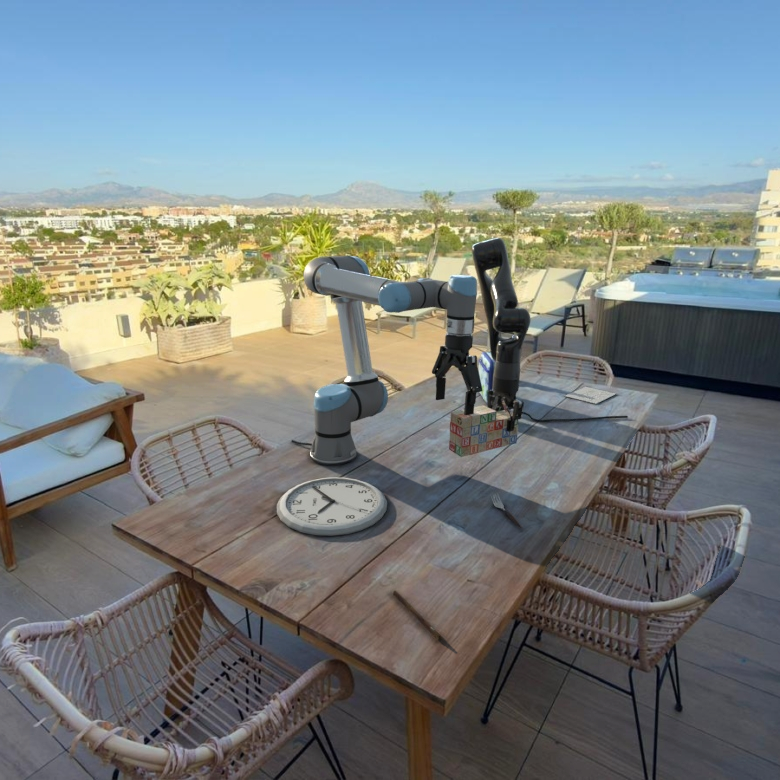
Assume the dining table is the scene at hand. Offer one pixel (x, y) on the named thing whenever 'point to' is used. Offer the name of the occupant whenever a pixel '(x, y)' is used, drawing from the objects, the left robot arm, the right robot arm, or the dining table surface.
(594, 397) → the invitation card
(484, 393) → the lunch box
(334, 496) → the wall clock
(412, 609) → the dark brown stick
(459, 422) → the stack of blocks
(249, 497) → the dining table surface
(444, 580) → the dining table surface
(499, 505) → the fork
